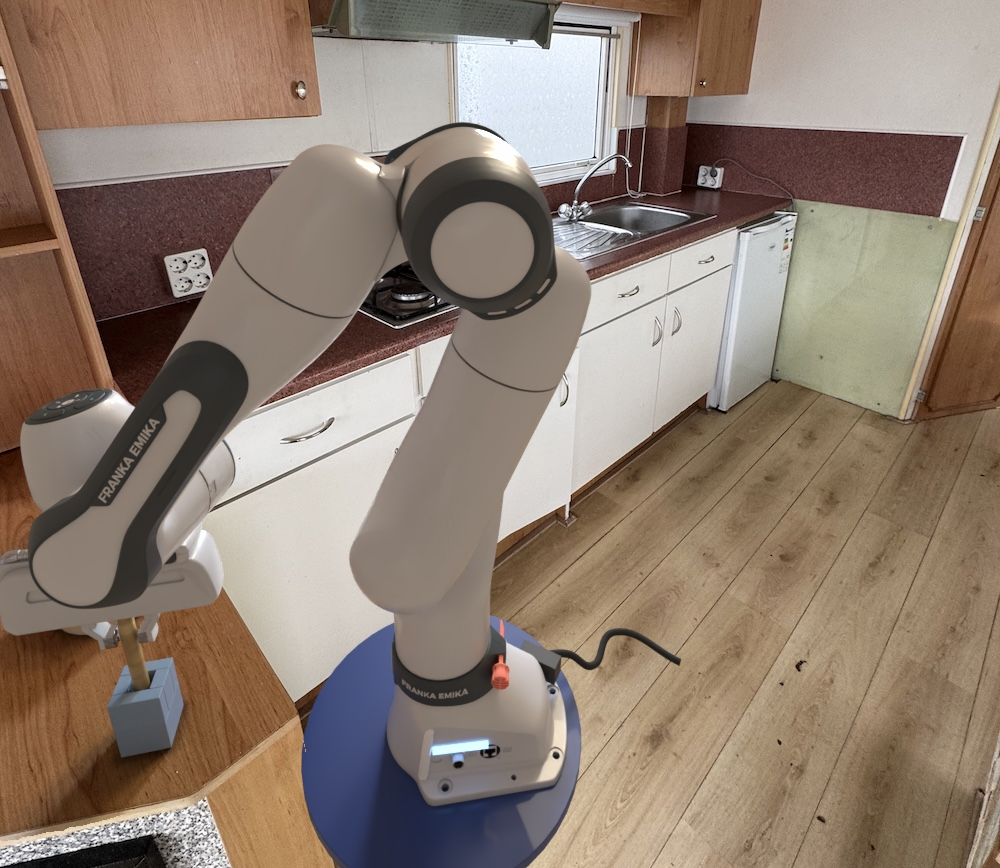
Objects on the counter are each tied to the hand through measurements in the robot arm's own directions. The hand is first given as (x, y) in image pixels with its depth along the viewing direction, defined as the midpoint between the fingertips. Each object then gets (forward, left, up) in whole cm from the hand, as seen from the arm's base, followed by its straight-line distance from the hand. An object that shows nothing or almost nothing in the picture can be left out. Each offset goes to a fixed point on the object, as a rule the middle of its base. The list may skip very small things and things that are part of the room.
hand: (130, 641), depth 64 cm
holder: (0, 0, -14) cm, 14 cm away
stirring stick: (0, 0, -10) cm, 10 cm away
